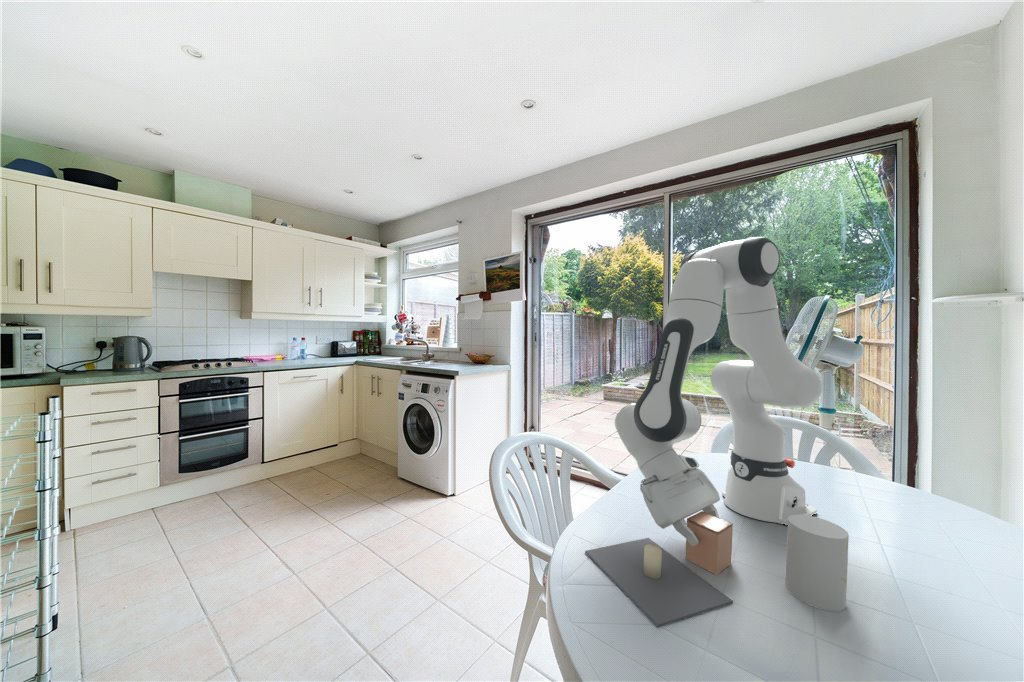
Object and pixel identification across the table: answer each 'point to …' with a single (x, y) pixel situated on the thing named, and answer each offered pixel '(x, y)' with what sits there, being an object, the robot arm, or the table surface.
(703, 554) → the light orange rectangular block
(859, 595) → the table surface
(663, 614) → the mat
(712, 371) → the robot arm
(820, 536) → the white oval cylinder
